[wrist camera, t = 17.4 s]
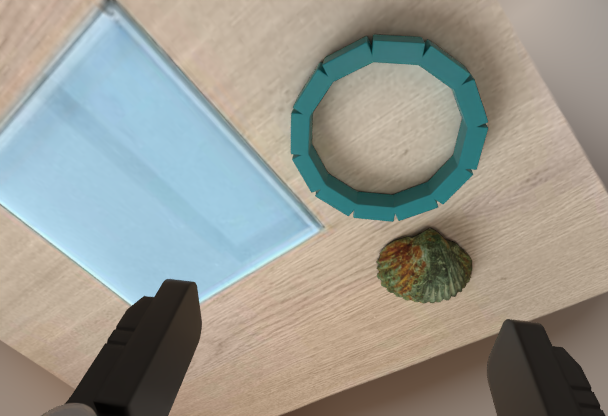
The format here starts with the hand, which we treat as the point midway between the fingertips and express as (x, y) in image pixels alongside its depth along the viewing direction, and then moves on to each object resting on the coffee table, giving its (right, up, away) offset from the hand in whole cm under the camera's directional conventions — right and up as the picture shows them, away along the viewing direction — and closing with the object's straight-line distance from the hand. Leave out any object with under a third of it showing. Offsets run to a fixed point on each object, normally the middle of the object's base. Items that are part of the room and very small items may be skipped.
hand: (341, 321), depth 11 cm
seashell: (+12, -3, +34) cm, 36 cm away
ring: (+6, +10, +26) cm, 29 cm away
